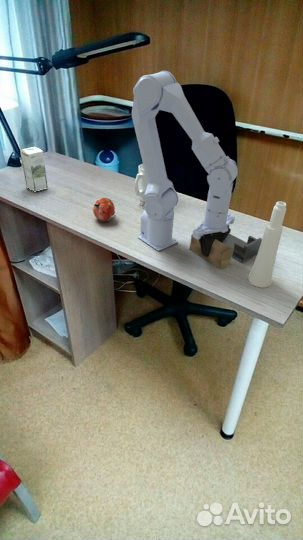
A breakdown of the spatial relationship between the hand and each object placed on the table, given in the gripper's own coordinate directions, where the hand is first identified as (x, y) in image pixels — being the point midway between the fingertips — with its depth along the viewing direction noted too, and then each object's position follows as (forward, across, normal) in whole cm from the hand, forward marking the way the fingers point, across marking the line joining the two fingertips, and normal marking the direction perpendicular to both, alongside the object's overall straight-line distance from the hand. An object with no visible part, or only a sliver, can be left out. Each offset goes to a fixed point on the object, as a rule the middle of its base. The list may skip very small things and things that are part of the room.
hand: (209, 252), depth 99 cm
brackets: (+1, +9, 0) cm, 9 cm away
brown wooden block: (+1, 0, 0) cm, 1 cm away
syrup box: (+2, -18, +70) cm, 72 cm away
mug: (+2, +8, +38) cm, 39 cm away
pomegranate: (+2, -11, +36) cm, 37 cm away
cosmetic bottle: (+2, +2, -16) cm, 16 cm away
